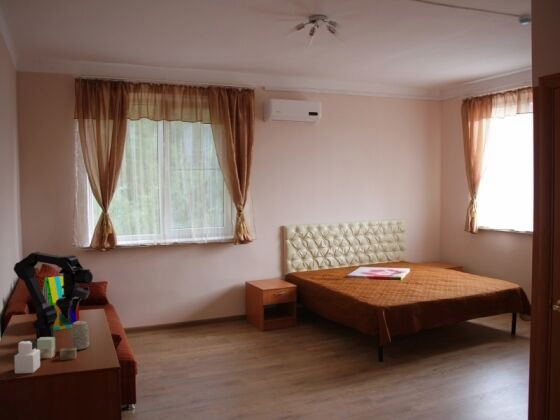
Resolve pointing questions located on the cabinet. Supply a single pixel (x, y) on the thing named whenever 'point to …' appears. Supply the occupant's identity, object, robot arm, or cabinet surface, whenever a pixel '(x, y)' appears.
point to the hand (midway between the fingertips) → (70, 316)
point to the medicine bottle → (27, 357)
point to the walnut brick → (68, 353)
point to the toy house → (52, 294)
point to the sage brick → (46, 343)
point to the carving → (80, 335)
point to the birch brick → (47, 353)
